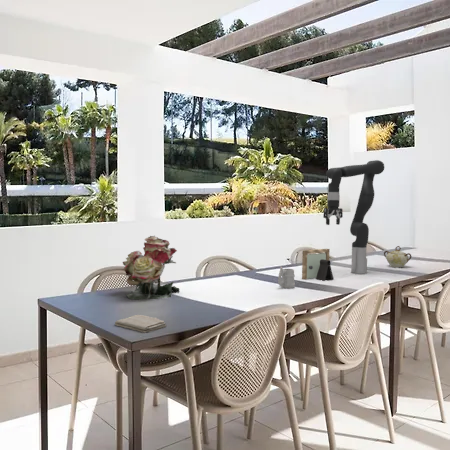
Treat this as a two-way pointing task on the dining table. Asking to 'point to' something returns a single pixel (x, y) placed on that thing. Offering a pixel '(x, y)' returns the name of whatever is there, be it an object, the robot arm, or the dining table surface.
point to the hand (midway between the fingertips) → (332, 224)
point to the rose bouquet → (149, 269)
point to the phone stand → (324, 271)
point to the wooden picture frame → (304, 259)
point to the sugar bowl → (397, 258)
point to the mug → (286, 278)
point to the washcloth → (141, 323)
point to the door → (314, 264)
